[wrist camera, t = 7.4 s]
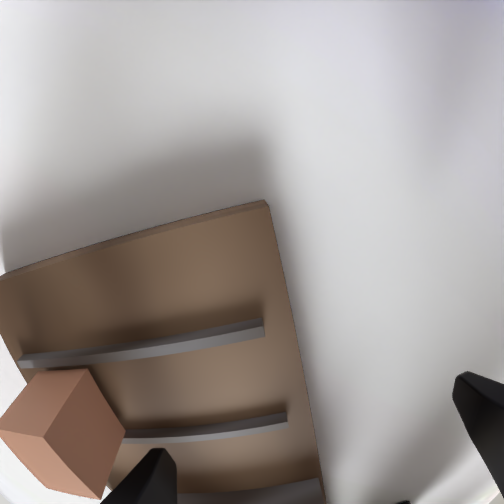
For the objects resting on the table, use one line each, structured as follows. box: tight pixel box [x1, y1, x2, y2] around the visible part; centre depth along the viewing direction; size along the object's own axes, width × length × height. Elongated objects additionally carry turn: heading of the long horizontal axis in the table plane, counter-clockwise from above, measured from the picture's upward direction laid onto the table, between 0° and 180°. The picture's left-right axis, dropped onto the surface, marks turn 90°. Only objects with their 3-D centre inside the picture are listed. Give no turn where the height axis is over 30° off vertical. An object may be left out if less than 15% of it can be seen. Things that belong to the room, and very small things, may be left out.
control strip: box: [0, 200, 326, 504], centre depth 12 cm, size 13×28×5 cm, turn 13°
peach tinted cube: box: [0, 368, 126, 500], centre depth 9 cm, size 3×4×4 cm
